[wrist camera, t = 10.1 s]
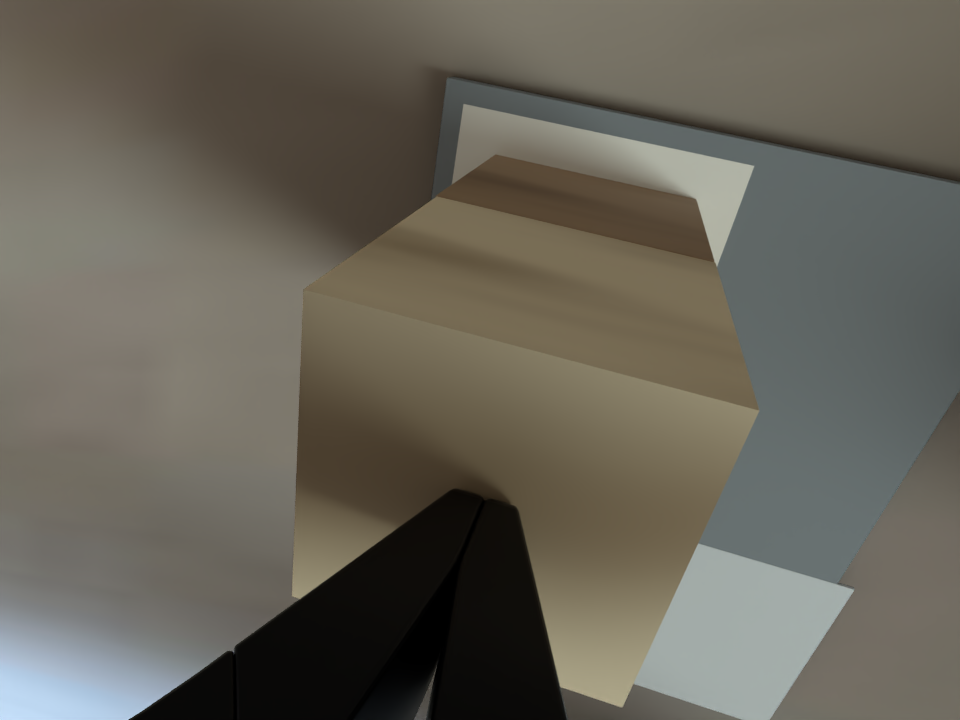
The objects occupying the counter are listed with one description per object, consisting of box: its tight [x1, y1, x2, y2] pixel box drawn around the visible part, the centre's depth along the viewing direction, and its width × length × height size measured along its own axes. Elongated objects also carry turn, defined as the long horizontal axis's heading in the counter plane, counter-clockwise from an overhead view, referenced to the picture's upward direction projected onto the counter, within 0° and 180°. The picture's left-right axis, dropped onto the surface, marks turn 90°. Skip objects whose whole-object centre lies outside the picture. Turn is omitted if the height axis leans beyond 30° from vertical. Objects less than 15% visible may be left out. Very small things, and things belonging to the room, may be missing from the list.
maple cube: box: [292, 197, 759, 707], centre depth 10 cm, size 5×5×5 cm
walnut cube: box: [436, 154, 714, 262], centre depth 14 cm, size 5×5×5 cm
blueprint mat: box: [431, 77, 960, 720], centre depth 19 cm, size 18×14×1 cm
